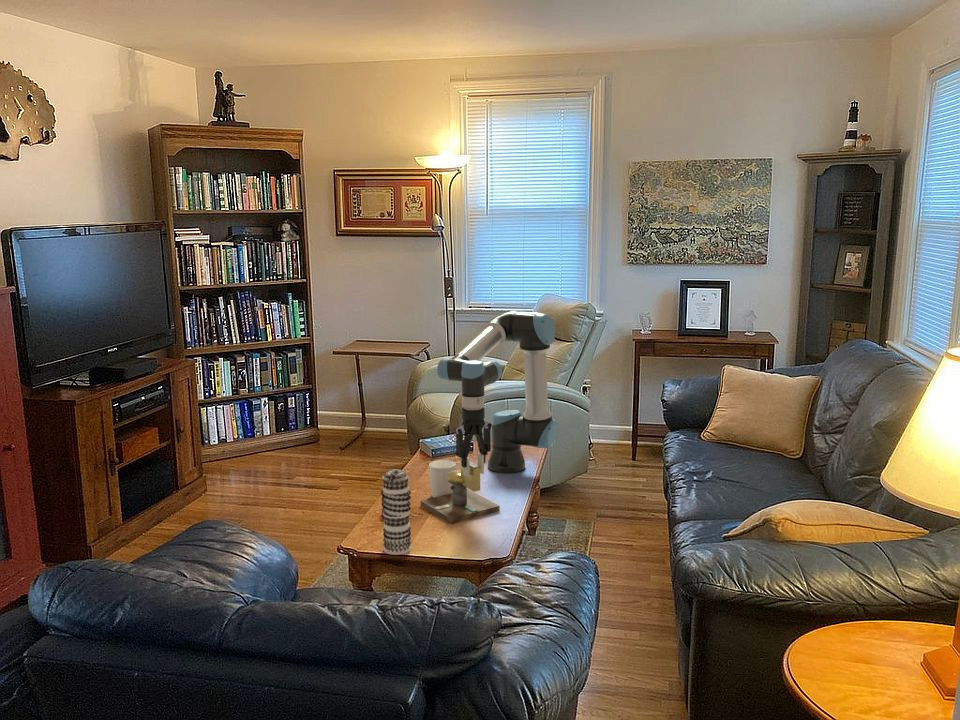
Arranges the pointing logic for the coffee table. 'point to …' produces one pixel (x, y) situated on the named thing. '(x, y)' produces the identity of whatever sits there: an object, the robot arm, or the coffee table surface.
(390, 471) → the decorative candle
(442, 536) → the coffee table surface
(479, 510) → the post plinth
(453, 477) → the cap
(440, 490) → the candle holder
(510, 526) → the coffee table surface
